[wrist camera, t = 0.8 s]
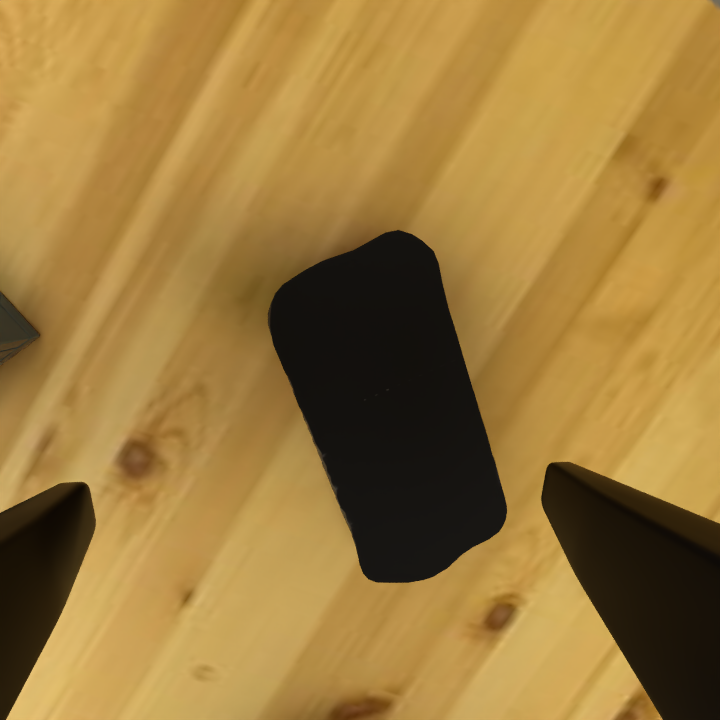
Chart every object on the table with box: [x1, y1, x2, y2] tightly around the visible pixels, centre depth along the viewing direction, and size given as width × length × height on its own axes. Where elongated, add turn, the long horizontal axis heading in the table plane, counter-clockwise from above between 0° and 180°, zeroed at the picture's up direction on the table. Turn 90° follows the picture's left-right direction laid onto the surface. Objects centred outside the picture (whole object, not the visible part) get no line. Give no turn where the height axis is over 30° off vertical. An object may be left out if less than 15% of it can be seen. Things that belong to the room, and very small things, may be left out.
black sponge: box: [268, 230, 507, 583], centre depth 22 cm, size 16×8×4 cm, turn 19°
